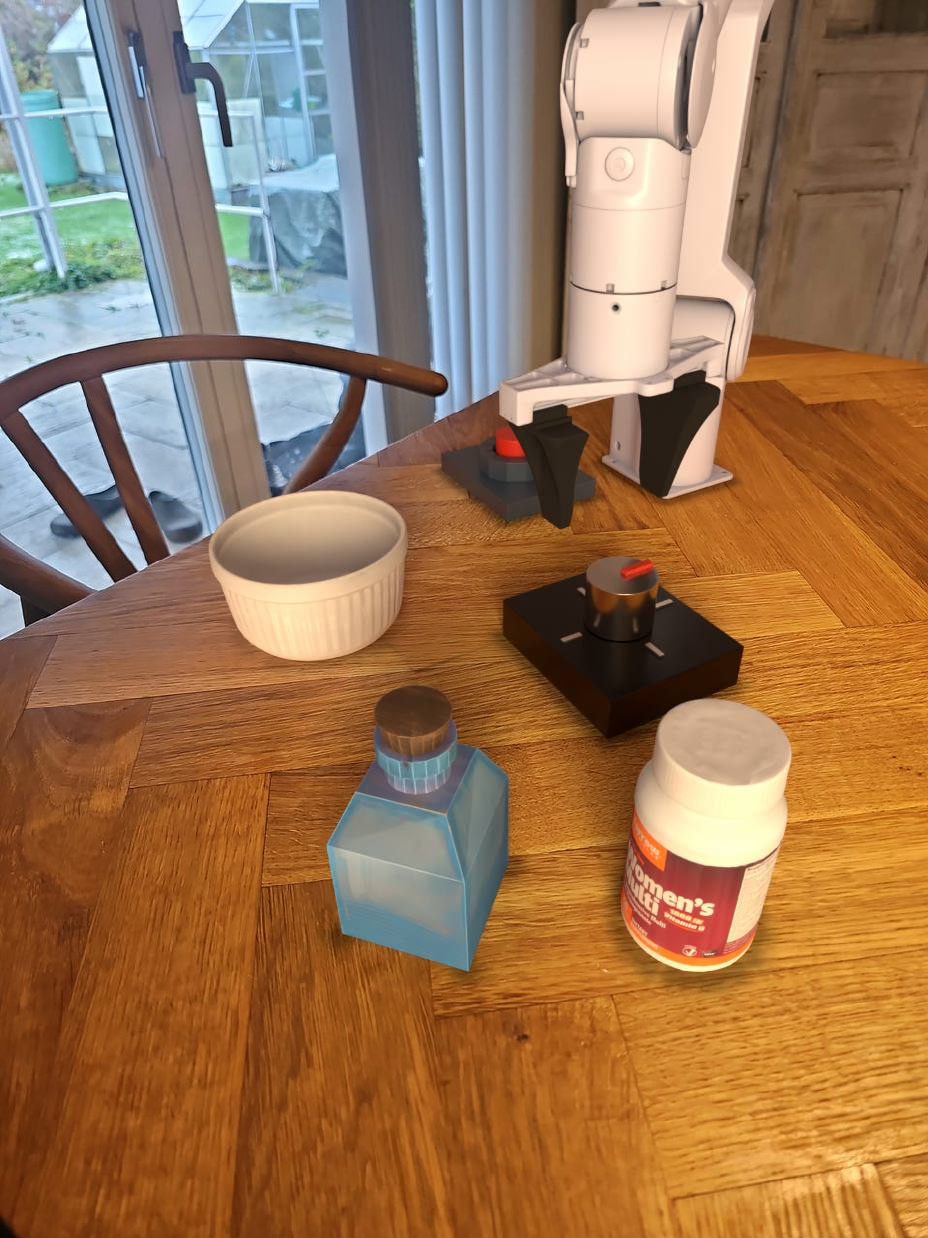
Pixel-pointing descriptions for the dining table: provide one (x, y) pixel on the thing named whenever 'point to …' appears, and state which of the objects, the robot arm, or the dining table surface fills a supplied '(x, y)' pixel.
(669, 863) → the pill bottle
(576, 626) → the panel
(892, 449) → the dining table surface
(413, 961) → the dining table surface
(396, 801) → the perfume bottle
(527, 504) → the button block
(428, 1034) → the dining table surface
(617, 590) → the dial
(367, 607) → the ramekin
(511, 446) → the button
